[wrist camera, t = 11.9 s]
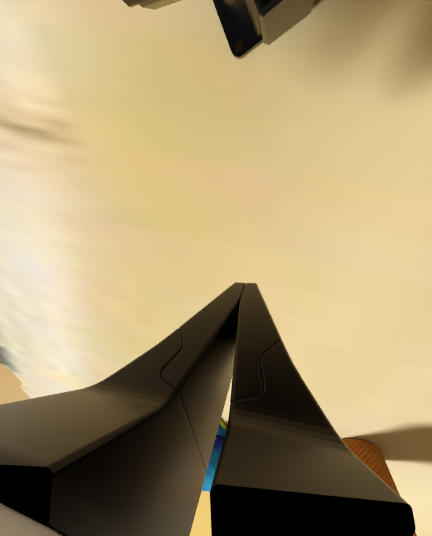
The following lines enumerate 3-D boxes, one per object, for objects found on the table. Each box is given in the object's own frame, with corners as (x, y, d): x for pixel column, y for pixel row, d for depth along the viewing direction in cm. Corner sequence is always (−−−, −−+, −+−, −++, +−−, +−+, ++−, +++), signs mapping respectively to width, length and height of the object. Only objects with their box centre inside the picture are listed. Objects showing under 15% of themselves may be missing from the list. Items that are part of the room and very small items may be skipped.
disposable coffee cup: (342, 424, 31) (369, 559, 21) (410, 451, 30) (472, 604, 20) (311, 447, 36) (322, 563, 27) (369, 470, 36) (402, 599, 26)
